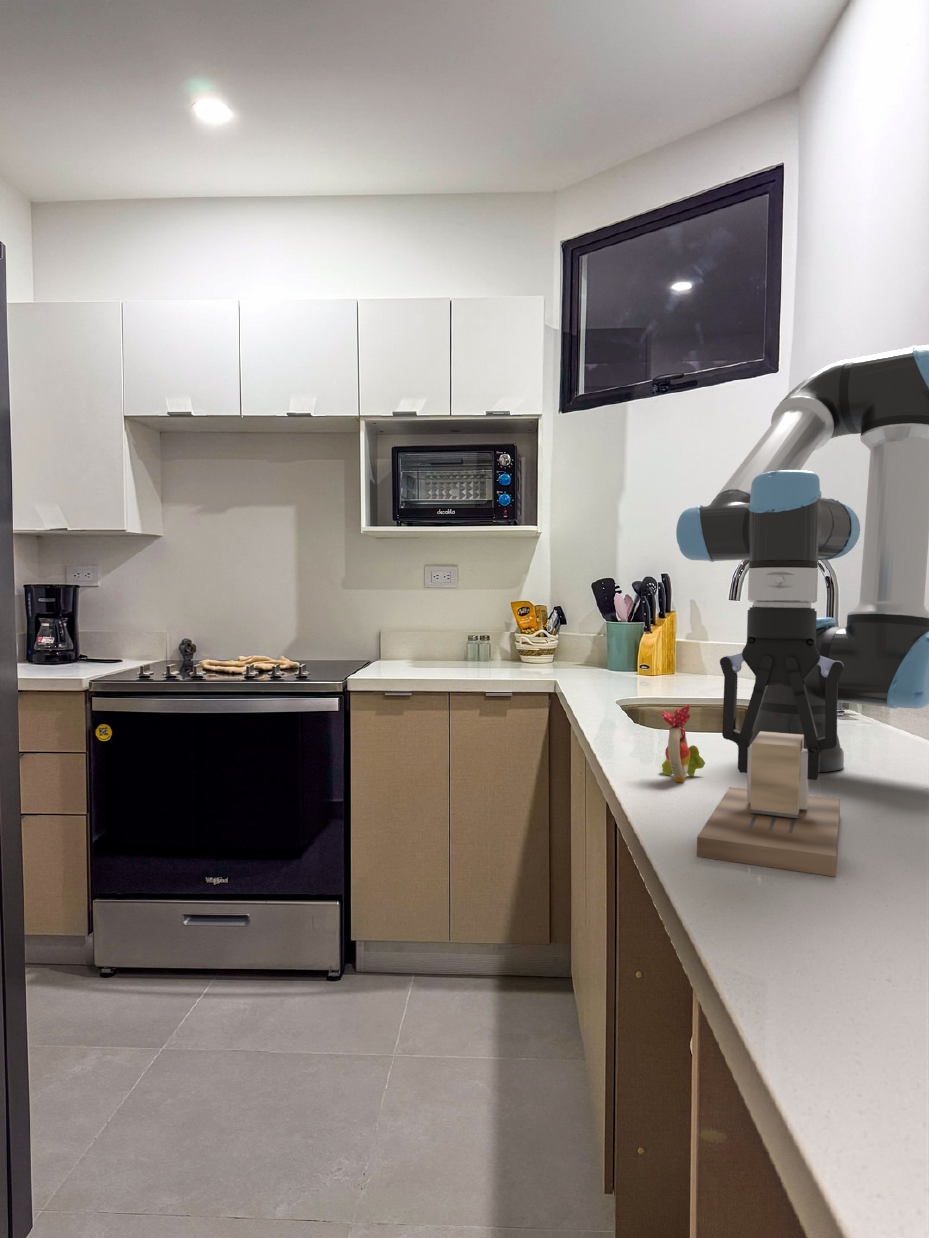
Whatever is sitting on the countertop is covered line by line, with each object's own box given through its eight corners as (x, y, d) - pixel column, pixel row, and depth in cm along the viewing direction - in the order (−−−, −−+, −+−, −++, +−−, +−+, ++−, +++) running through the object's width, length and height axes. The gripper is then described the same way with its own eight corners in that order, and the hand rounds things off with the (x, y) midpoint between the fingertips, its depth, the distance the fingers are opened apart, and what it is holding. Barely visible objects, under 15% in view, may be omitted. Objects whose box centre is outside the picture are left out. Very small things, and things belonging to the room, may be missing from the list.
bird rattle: (702, 798, 114) (706, 761, 122) (700, 732, 110) (704, 698, 117) (657, 794, 116) (664, 758, 124) (654, 730, 112) (661, 697, 120)
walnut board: (729, 802, 104) (729, 786, 104) (839, 815, 98) (839, 798, 98) (696, 856, 82) (697, 836, 82) (835, 876, 77) (836, 855, 77)
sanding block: (758, 795, 99) (760, 731, 99) (802, 800, 97) (803, 734, 97) (750, 812, 91) (751, 742, 91) (797, 818, 89) (799, 746, 89)
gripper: (696, 604, 94) (692, 801, 95) (868, 607, 86) (863, 821, 87) (707, 604, 101) (703, 787, 101) (868, 606, 93) (862, 805, 93)
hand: (777, 803), depth 94 cm, fingers closed on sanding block, 5 cm apart
